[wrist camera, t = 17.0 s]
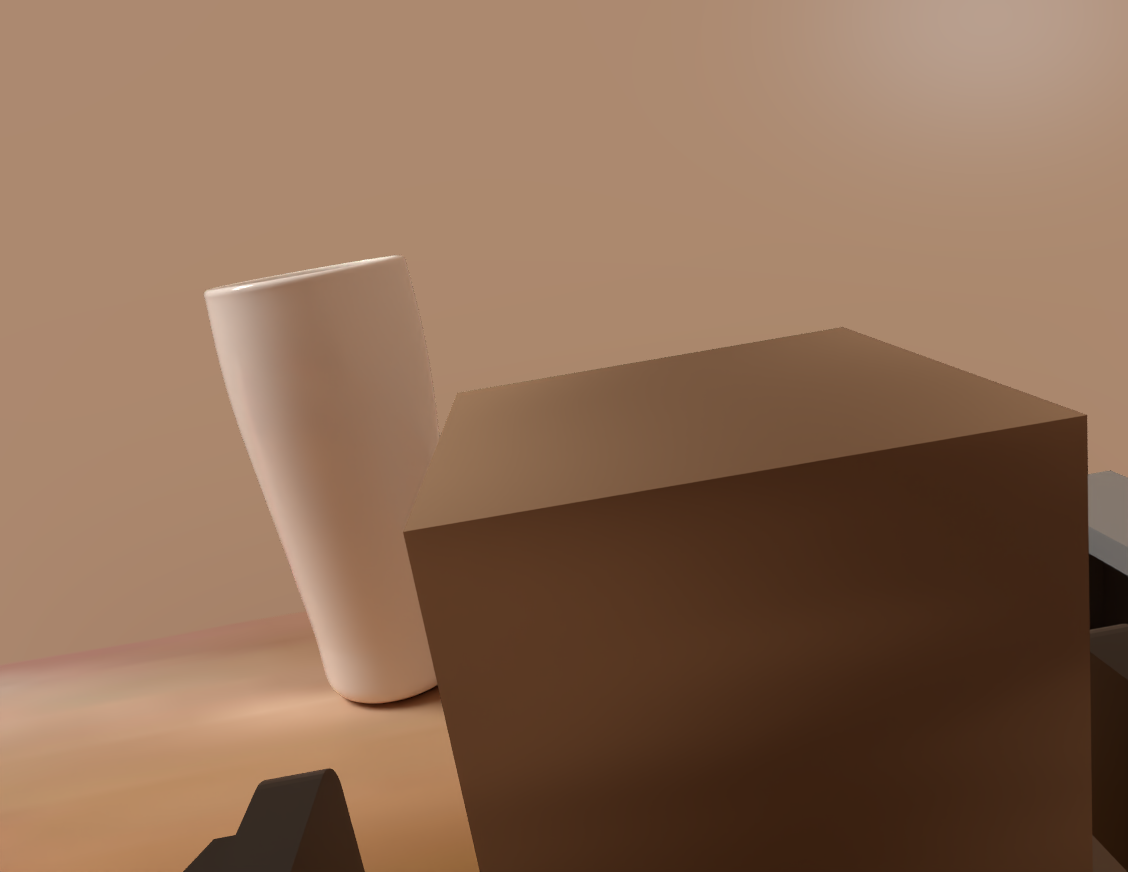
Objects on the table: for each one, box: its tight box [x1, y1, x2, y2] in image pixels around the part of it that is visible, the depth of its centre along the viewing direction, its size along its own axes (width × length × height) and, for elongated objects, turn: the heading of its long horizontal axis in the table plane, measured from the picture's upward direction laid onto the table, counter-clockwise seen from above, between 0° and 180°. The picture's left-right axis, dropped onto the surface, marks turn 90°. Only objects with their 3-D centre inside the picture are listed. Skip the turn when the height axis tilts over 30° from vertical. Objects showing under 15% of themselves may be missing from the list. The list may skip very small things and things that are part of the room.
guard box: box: [1088, 471, 1128, 872], centre depth 22 cm, size 12×12×5 cm
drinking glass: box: [204, 255, 440, 703], centre depth 31 cm, size 7×7×15 cm
